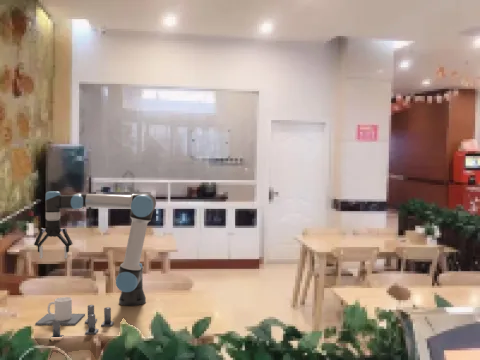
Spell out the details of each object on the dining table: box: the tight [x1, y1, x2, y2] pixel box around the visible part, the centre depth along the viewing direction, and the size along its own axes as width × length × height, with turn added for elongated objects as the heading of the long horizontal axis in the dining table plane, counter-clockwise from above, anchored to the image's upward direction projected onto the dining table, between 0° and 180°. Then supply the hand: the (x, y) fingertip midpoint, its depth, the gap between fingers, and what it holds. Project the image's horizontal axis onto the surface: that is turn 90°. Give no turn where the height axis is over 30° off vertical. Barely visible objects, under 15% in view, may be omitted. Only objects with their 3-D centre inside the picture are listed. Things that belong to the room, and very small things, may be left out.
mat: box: [34, 313, 86, 326], centre depth 264 cm, size 20×16×1 cm
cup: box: [47, 296, 73, 321], centre depth 263 cm, size 8×12×10 cm
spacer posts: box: [51, 304, 115, 337], centre depth 248 cm, size 23×29×8 cm
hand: (53, 258), depth 280 cm, fingers open, 13 cm apart
